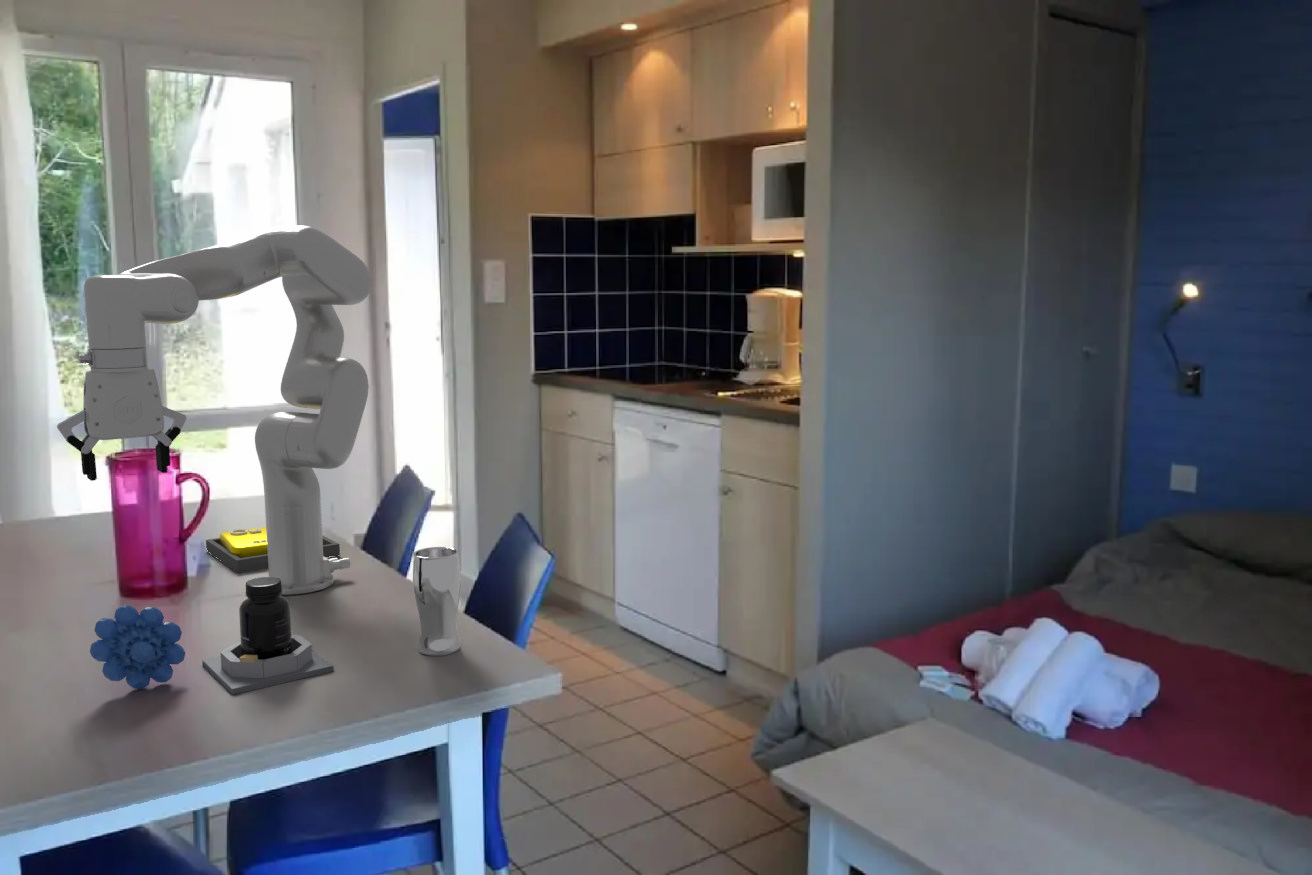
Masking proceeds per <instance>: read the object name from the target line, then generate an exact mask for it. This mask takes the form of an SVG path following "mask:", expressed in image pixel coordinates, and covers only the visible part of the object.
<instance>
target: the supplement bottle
mask: <svg viewBox="0 0 1312 875" xmlns="http://www.w3.org/2000/svg"><path fill="white" fill-rule="evenodd" d="M281 594H282V586H281V580H280V579H279V578H275V577H268V576H262V577H255V578H252V579H248V581H246V582H245V597H246V599H245V600H243V601H242V602H241V603H240V605H239V607H238V608H239V610H238V612H239V613H238V614H239V632H240V634H239V635H240V637H239V638H240V640H241V655H242V656H243V655H258V659H259V660H265V659H269V658H274V657H279V656H283V655H288V654H291V653H292V645H291V635H292V627H291V626H292V624H291V621H292V620H291V606H290V605H291V604H290V602H289V600H288V599H287V598H286V597H285V596H284V595H281Z"/></svg>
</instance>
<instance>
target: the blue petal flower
mask: <svg viewBox="0 0 1312 875" xmlns="http://www.w3.org/2000/svg"><path fill="white" fill-rule="evenodd" d="M164 618H165V616H164V614H163V612H162V611H161V610H160V609H159V608H157V607H151V606H146V607H145V608H144V609H142V610H141V611H140V612H139V611H138V609H136V608H135V607H133V606H132V605H124V604H123V605H121V606H120V607H118V608H117V609H115V613H114V618H105V617H104V618H102V619H100V620H98V621H97V622H95V626H94V632H95V635H96V636H97V637H99V639H97V640H95V641H94V642H93V643H92V644H90V649H89V653H90V656H91V657H92V658H93V659H94V660H96V661H97V662H101V663H102V662H103V666H102V670H101V671H102V674H103V676H104V678H106V679H107V680H109V681H110V682H111V681H112V682H120V681H122V680H124V679H125V681H126V683H127V685H128V686H129V687H130V688H132V689H134V690H143V689H145V688H146V687H148V686H149V685H150V682H151V679H152V680H153V681H154V682H156V683H166V682H169V681H170V680H171V679H172V678H173V672H174V669H173V667H172V666H171V665H179V664H181V663H182V662H184V660H185V656H186V652H185V648H184V647H182V646H181V645H180V644H179V643H177V642H178V641H180V640H181V638H182V632H183V631H182V629H181V627H180V626H179V625H178V624H177V623H175V622H173V621H172V622H170V621H165V622H164Z"/></svg>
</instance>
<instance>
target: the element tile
mask: <svg viewBox="0 0 1312 875" xmlns="http://www.w3.org/2000/svg"><path fill="white" fill-rule="evenodd" d="M219 538H220V545H221V546H222V547H224V548H225V549H227V550H228V551H229V552H230V553H232V554H234V555H236V556H238V557H239V558H246V557H253V556H259V555H265V554H268V550H267V533H266V526H263V527H261V526H260V527H254V528H253V527H252V528H246V529H244V528H239V529H236V528H235V529H233V530H229V531H223V532H221V533H220V534H219Z"/></svg>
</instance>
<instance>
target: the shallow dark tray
mask: <svg viewBox="0 0 1312 875" xmlns="http://www.w3.org/2000/svg"><path fill="white" fill-rule="evenodd" d="M322 539H323V556H324V557H325V558H326V557H329V556H338V555H340V556H341V549H340V543H339V542H336V541H335V540H333V539H330V538H328V537H327V536H325V535H323V534H322ZM205 545H206V546H205V547H206V548H207V550H208V552H210V553H211V554H212V555H213V556H215V557H217V558H218V559H219V560H221V561H222V562H223V563H224V564H223V563H222V562H221V561H220V562H221V563H222V564H223V565H225V566H226V565H227V566H226V567H228V568H229V567H230V568H229V569H230V570H232V569H233V570H232V571H233V572H235V573H236V574H241V573H242V574H243V573H247V572H254V571H259V569H260V570H265V569H269V568H268V554H265V555H259V556H253V557H246V558H239V557H238V556H236V555H234V554H232V553H230V552H229V551H228V550H227V549H225V548H224V547H222V546H221V545H220V537H217V538H208V539H205ZM206 548H205V549H206ZM207 550H206V551H207ZM208 552H207V553H208ZM212 555H211V556H212ZM213 556H212V557H213ZM215 557H214V558H215ZM338 557H339V556H338ZM218 559H217V560H218ZM219 560H218V561H219ZM253 570H254V571H253Z"/></svg>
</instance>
